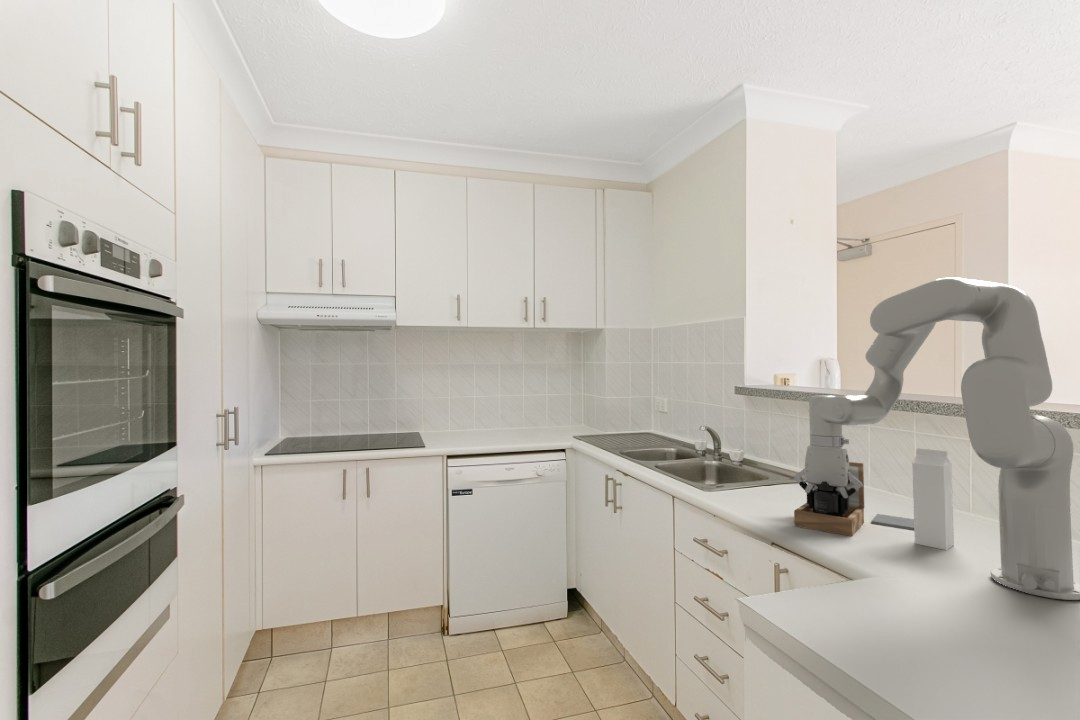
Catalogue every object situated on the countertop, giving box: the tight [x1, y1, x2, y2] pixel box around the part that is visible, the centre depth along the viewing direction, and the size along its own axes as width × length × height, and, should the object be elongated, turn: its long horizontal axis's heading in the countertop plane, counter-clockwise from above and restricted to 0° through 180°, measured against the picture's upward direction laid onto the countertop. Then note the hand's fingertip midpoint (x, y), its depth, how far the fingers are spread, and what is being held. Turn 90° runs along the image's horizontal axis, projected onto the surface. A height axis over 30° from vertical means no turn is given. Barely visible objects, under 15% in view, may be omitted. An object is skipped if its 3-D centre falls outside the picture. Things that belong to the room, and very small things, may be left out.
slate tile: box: [870, 513, 914, 531], centre depth 134 cm, size 10×10×1 cm
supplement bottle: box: [813, 481, 843, 517], centre depth 131 cm, size 7×7×12 cm
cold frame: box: [793, 461, 865, 537], centre depth 133 cm, size 16×13×16 cm
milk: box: [911, 448, 955, 551], centre depth 117 cm, size 6×6×22 cm
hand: (827, 509), depth 131 cm, fingers closed on supplement bottle, 6 cm apart
